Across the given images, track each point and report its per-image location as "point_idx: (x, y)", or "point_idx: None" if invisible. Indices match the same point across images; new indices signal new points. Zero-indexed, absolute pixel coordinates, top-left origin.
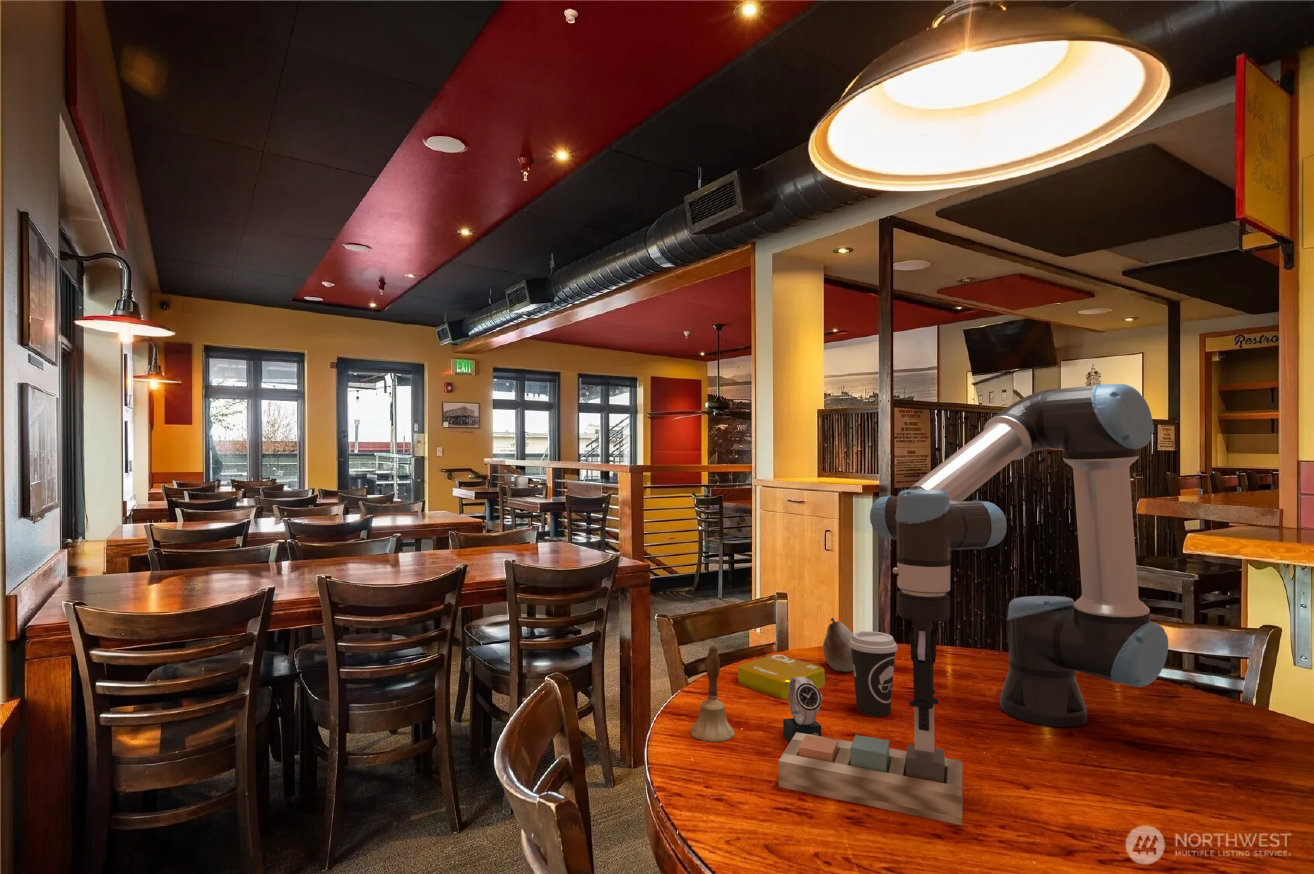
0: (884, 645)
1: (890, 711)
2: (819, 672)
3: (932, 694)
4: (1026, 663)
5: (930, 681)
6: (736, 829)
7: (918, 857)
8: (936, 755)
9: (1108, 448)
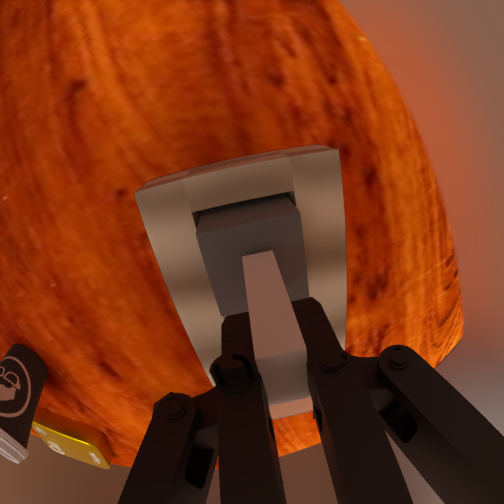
0: None
1: (16, 345)
2: (39, 423)
3: (263, 407)
4: None
5: (501, 436)
6: (422, 353)
7: (428, 191)
8: (252, 241)
9: None
